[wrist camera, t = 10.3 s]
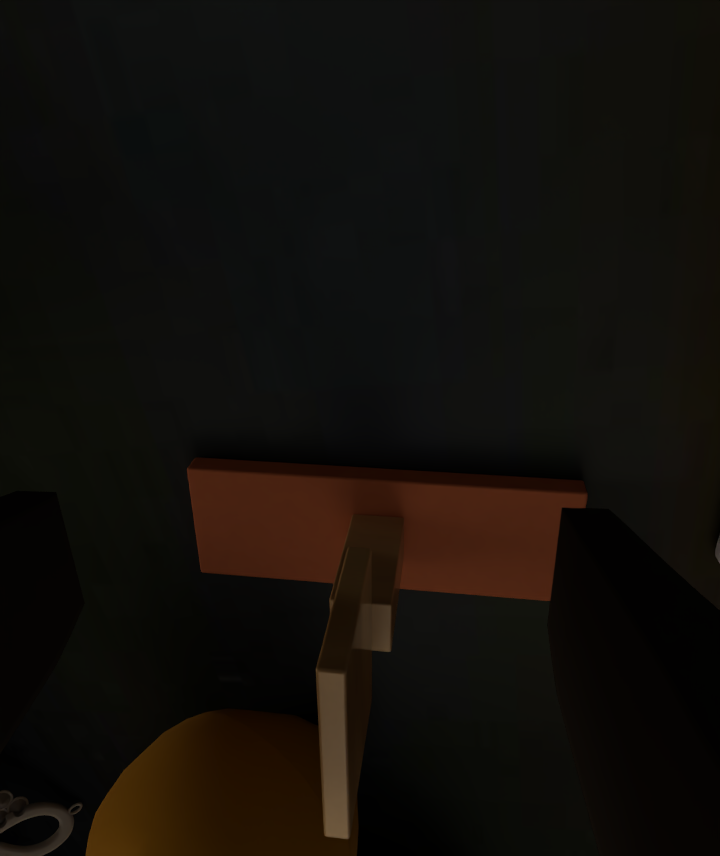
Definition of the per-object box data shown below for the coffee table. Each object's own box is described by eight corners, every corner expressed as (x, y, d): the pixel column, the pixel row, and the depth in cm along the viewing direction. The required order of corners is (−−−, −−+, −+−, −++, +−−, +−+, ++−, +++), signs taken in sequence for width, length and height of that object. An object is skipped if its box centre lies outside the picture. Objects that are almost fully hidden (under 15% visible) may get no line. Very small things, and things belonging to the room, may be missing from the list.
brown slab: (402, 602, 22) (372, 844, 15) (353, 598, 22) (301, 835, 15) (405, 468, 20) (372, 675, 13) (351, 464, 20) (289, 666, 13)
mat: (567, 587, 22) (570, 603, 21) (208, 558, 23) (200, 573, 23) (584, 479, 20) (588, 493, 19) (195, 456, 22) (185, 468, 21)
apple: (242, 617, 27) (42, 748, 19) (432, 733, 23) (276, 948, 16) (210, 779, 30) (25, 948, 22) (375, 904, 26) (220, 1155, 19)
